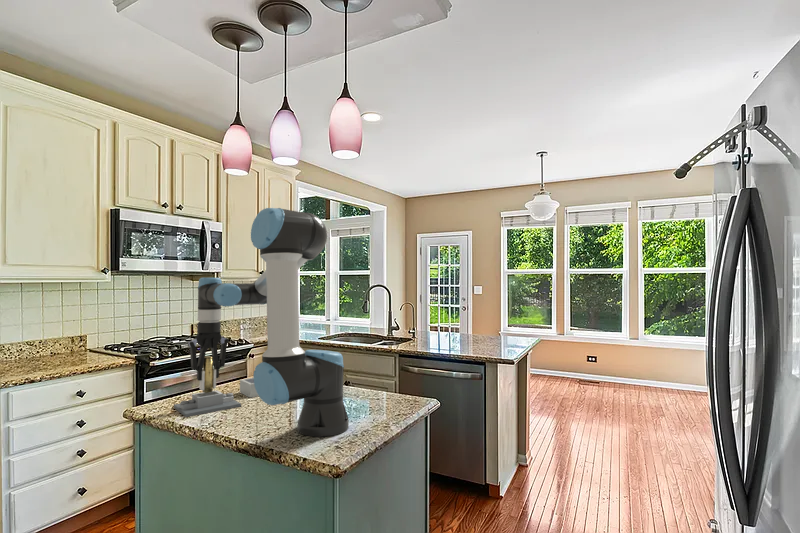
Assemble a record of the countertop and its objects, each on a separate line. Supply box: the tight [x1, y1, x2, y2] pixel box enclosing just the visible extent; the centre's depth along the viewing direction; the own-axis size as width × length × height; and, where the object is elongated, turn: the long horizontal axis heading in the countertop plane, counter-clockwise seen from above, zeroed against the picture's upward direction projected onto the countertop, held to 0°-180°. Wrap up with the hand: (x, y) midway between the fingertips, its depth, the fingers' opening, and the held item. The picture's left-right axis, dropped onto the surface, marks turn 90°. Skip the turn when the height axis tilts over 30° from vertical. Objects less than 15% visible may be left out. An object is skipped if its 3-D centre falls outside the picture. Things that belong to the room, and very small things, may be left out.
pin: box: [202, 355, 214, 393], centre depth 150 cm, size 3×3×12 cm
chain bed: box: [173, 389, 242, 418], centre depth 150 cm, size 14×18×4 cm
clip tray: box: [239, 377, 259, 398], centre depth 171 cm, size 10×18×5 cm, turn 132°
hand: (207, 388), depth 150 cm, fingers closed on pin, 3 cm apart
